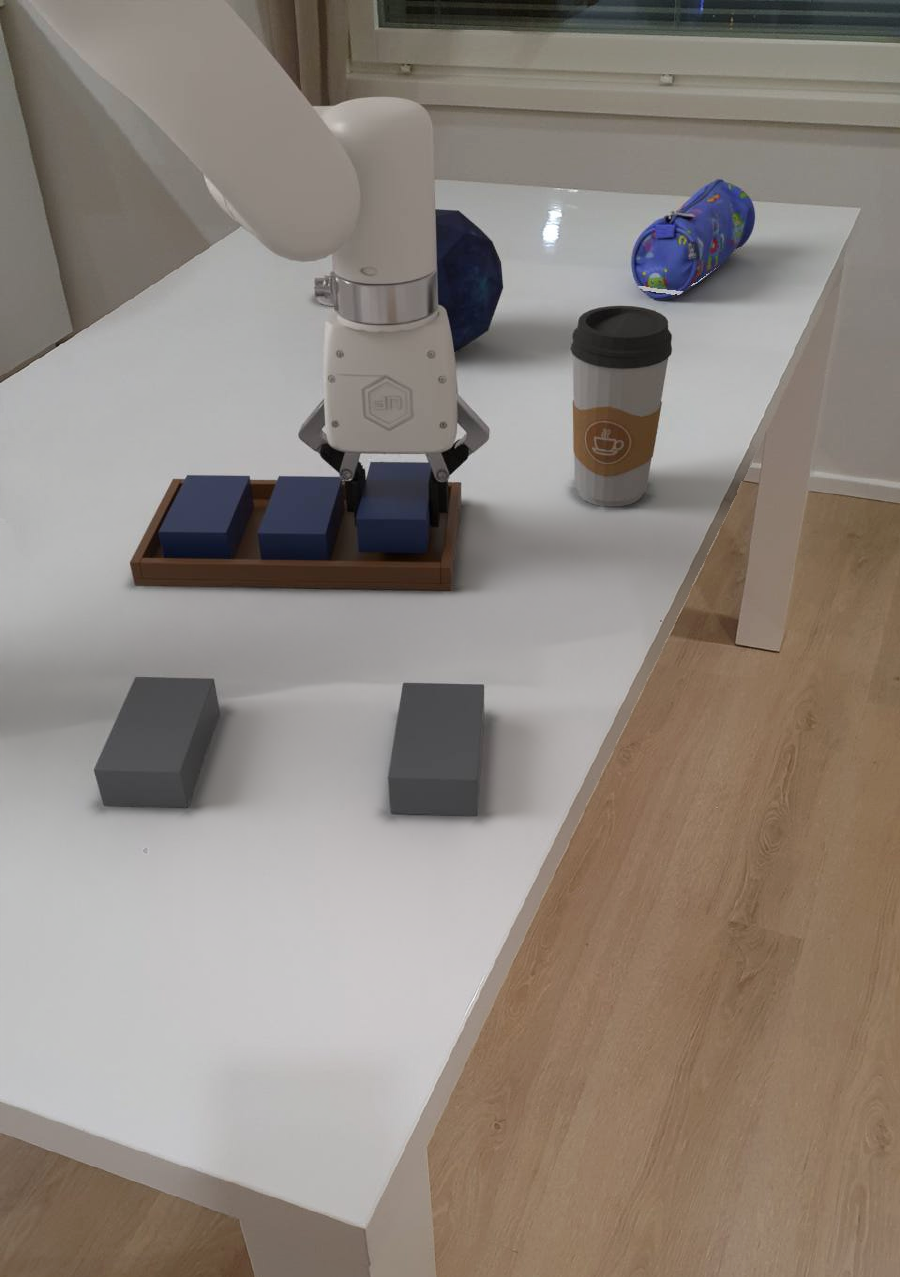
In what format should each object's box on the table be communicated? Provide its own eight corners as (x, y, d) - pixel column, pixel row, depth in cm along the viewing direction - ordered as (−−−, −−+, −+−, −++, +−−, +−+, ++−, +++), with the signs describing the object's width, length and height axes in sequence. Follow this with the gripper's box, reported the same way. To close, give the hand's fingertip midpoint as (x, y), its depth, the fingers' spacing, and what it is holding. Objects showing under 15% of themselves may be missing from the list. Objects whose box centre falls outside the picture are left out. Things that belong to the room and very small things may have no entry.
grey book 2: (390, 814, 76) (387, 777, 74) (404, 717, 83) (402, 682, 81) (477, 816, 75) (477, 779, 73) (484, 719, 83) (484, 683, 81)
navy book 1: (165, 564, 98) (158, 531, 96) (192, 506, 106) (186, 474, 104) (231, 565, 98) (226, 532, 96) (254, 507, 105) (249, 475, 103)
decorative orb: (505, 267, 138) (425, 159, 129) (547, 311, 127) (463, 197, 118) (412, 354, 142) (328, 255, 132) (445, 403, 131) (355, 300, 121)
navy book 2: (261, 566, 98) (257, 533, 96) (282, 507, 105) (278, 475, 103) (328, 567, 97) (325, 534, 96) (344, 508, 105) (342, 476, 103)
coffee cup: (553, 506, 106) (560, 334, 96) (576, 465, 112) (585, 299, 102) (647, 519, 104) (664, 345, 94) (665, 476, 110) (683, 308, 100)
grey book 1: (103, 805, 77) (93, 769, 75) (143, 711, 84) (134, 676, 82) (188, 808, 76) (180, 772, 74) (220, 713, 84) (214, 678, 82)
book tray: (134, 585, 97) (129, 562, 96) (176, 500, 108) (172, 478, 107) (451, 590, 96) (450, 567, 94) (461, 503, 106) (461, 481, 105)
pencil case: (689, 310, 142) (699, 223, 135) (622, 298, 145) (628, 213, 139) (752, 256, 156) (764, 175, 150) (690, 247, 159) (698, 167, 153)
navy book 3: (358, 552, 96) (355, 518, 94) (372, 494, 104) (370, 461, 102) (427, 553, 96) (425, 519, 94) (436, 494, 104) (435, 462, 102)
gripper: (261, 312, 86) (288, 540, 98) (502, 313, 85) (500, 543, 96) (278, 277, 91) (303, 496, 103) (505, 277, 90) (503, 499, 102)
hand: (398, 517), depth 100 cm, fingers closed on navy book 3, 5 cm apart
